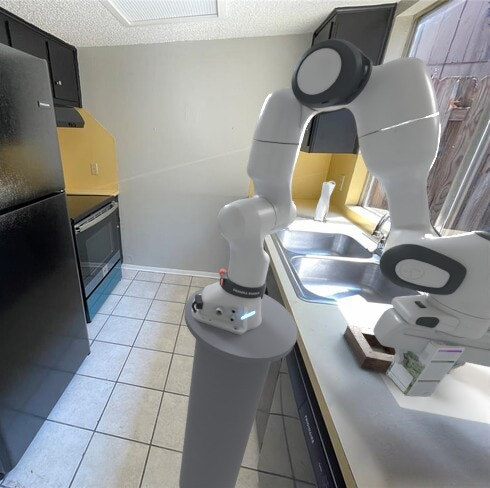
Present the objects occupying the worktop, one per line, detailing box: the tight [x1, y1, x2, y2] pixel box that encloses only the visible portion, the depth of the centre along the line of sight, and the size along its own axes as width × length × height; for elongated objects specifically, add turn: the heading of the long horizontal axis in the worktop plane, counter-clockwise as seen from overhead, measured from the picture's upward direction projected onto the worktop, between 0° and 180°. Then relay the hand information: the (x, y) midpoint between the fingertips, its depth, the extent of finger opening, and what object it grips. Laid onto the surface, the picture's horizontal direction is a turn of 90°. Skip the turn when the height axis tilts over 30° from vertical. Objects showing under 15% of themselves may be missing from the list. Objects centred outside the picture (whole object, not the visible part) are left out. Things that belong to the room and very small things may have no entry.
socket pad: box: [343, 324, 396, 374], centre depth 70 cm, size 12×12×4 cm
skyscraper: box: [313, 180, 336, 223], centre depth 177 cm, size 8×8×28 cm
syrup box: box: [385, 341, 465, 398], centre depth 54 cm, size 6×6×14 cm
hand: (419, 366), depth 55 cm, fingers closed on syrup box, 6 cm apart
